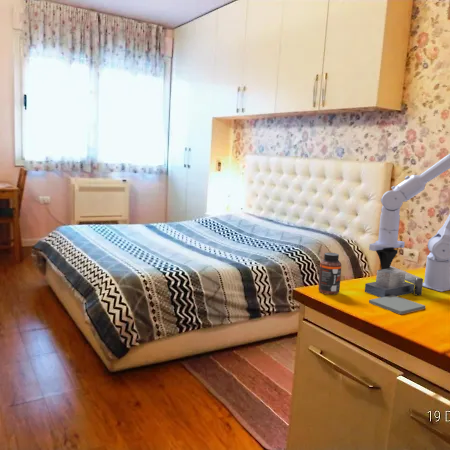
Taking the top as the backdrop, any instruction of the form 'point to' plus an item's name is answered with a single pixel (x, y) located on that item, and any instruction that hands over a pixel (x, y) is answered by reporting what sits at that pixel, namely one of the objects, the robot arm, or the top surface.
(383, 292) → the grey piece
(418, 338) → the top surface
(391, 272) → the grey rectangular block
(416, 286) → the steel lever
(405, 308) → the rubber mat
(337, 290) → the supplement bottle
